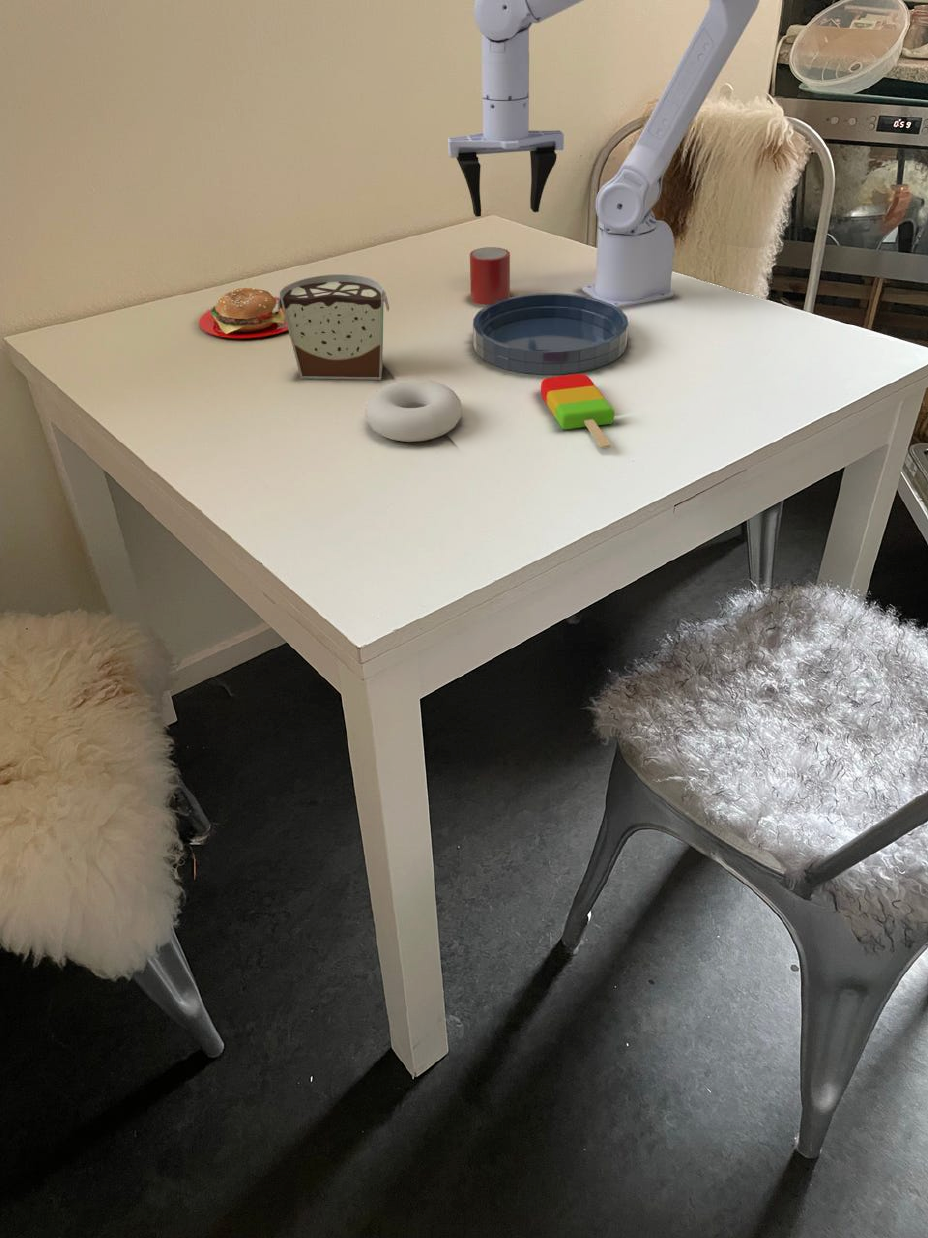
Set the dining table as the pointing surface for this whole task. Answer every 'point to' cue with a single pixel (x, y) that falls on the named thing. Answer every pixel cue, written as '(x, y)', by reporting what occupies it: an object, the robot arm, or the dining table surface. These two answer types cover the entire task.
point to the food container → (336, 326)
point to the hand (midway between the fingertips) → (505, 212)
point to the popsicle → (578, 404)
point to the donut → (413, 410)
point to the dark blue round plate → (550, 333)
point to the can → (489, 275)
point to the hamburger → (245, 315)
